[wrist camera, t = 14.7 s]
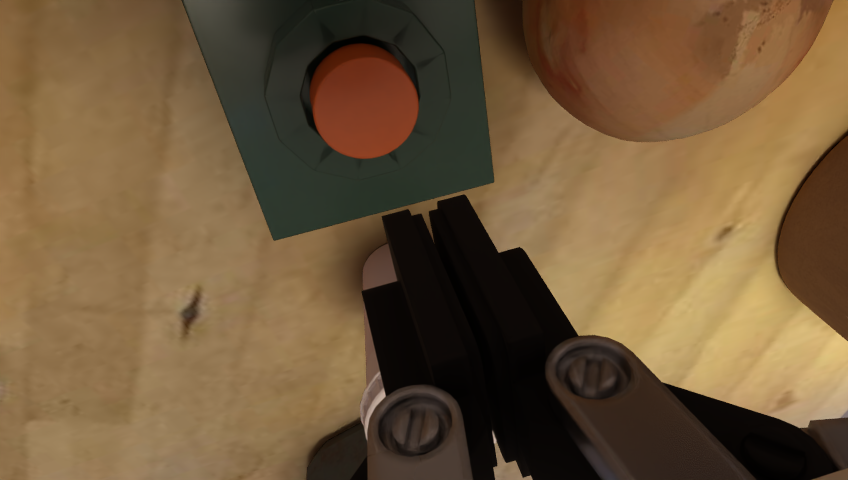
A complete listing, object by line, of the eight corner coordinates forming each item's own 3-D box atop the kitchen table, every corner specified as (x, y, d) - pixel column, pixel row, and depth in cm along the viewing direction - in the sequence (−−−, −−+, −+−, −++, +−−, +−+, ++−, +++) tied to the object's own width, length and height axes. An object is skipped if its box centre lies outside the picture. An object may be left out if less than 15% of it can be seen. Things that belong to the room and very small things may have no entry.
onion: (566, 134, 29) (688, 249, 21) (438, -33, 23) (534, 35, 15) (740, -13, 27) (951, 50, 19) (642, -233, 21) (880, -278, 13)
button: (296, 56, 20) (299, 72, 19) (398, 31, 21) (409, 45, 19) (323, 150, 23) (328, 170, 21) (416, 126, 23) (426, 145, 21)
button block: (165, -73, 21) (148, -56, 17) (443, -132, 22) (477, -127, 18) (272, 215, 28) (274, 265, 24) (480, 161, 29) (508, 202, 25)
